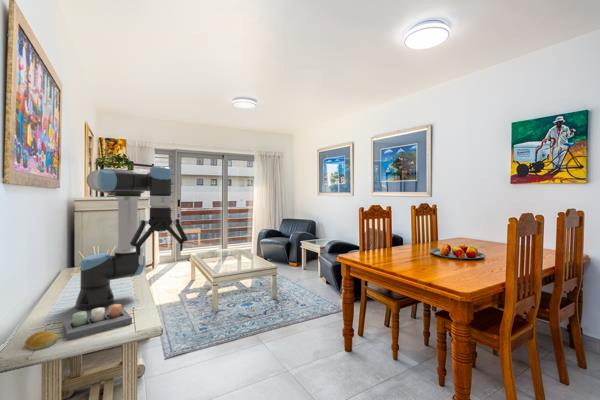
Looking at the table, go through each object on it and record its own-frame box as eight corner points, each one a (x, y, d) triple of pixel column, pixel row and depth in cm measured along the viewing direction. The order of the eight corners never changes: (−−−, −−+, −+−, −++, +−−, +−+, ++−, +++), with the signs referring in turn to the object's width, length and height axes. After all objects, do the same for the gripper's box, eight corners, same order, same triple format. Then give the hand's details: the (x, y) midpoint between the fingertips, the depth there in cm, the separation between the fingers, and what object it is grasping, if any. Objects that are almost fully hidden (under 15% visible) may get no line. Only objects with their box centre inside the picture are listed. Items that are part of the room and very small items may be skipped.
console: (63, 327, 119) (63, 321, 119) (122, 312, 133) (122, 307, 133) (67, 340, 109) (67, 333, 108) (131, 323, 123) (131, 317, 123)
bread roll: (36, 352, 100) (36, 341, 100) (20, 347, 104) (20, 335, 104) (63, 341, 108) (63, 330, 108) (48, 336, 111) (48, 325, 111)
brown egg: (107, 315, 125) (107, 305, 125) (119, 312, 128) (119, 303, 128) (110, 318, 122) (110, 308, 122) (122, 315, 125) (122, 306, 125)
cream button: (90, 319, 121) (90, 309, 121) (103, 316, 124) (103, 306, 124) (92, 322, 118) (92, 312, 118) (105, 319, 121) (105, 309, 121)
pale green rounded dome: (72, 323, 117) (71, 313, 117) (85, 320, 120) (85, 310, 120) (73, 327, 114) (73, 316, 113) (87, 323, 117) (87, 313, 116)
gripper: (125, 208, 104) (125, 268, 105) (196, 206, 121) (195, 259, 121) (121, 207, 110) (121, 264, 110) (189, 205, 126) (188, 255, 127)
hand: (160, 261), depth 116 cm, fingers open, 13 cm apart
